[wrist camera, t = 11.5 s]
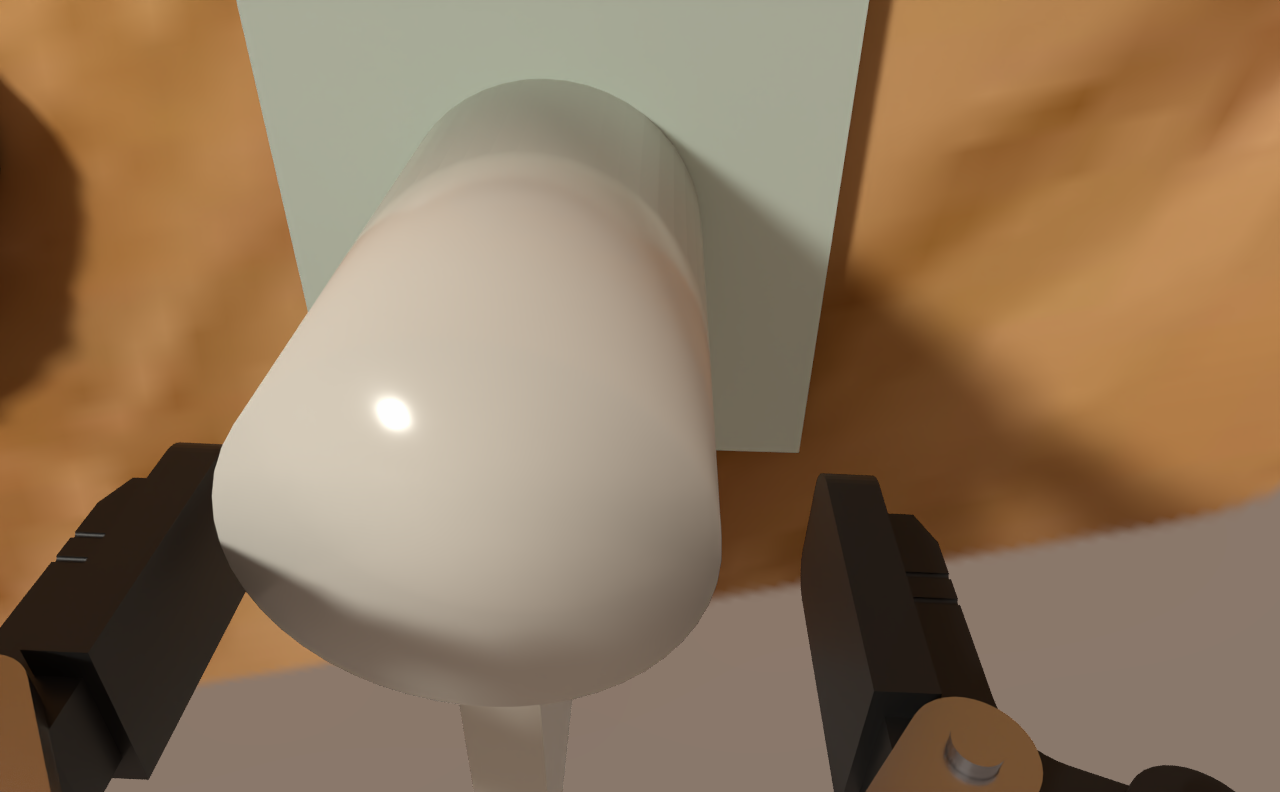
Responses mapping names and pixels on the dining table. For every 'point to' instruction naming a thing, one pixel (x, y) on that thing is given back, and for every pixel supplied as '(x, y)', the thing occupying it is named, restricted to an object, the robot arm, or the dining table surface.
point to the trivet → (630, 70)
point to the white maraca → (495, 429)
